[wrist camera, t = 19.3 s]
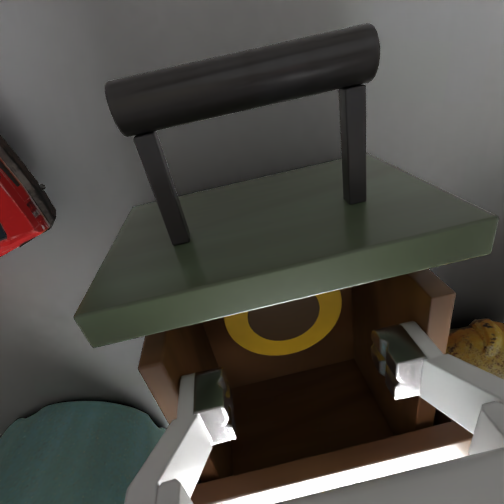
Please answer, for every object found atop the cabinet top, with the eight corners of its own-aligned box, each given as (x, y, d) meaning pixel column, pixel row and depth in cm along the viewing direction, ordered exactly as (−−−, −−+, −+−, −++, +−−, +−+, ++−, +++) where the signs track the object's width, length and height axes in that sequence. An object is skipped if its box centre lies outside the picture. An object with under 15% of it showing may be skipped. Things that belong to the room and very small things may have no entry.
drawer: (84, 91, 12) (-62, 112, 6) (367, 27, 12) (557, -26, 6) (207, 387, 22) (208, 529, 15) (368, 348, 22) (442, 471, 15)
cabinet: (179, 333, 20) (161, 515, 12) (371, 287, 20) (486, 435, 12) (230, 453, 27) (241, 617, 19) (371, 418, 28) (442, 566, 19)
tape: (317, 218, 15) (340, 251, 12) (324, 301, 18) (344, 343, 15) (210, 242, 15) (209, 280, 12) (233, 322, 18) (238, 367, 15)
